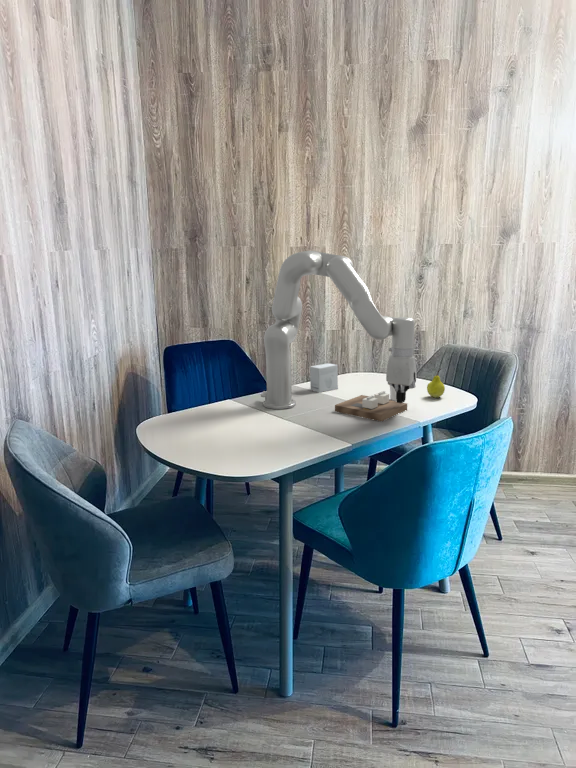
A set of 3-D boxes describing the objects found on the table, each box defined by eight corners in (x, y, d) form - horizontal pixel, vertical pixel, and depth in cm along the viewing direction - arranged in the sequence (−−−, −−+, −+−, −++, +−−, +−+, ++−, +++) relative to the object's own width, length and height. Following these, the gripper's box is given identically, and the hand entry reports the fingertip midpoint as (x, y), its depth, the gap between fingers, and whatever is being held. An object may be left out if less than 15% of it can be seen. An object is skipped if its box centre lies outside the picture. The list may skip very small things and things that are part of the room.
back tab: (374, 402, 211) (374, 392, 210) (379, 400, 214) (380, 390, 213) (383, 404, 208) (383, 394, 207) (389, 401, 211) (389, 391, 210)
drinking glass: (407, 402, 220) (408, 364, 217) (389, 402, 221) (390, 364, 217) (404, 397, 227) (405, 360, 223) (387, 397, 227) (388, 361, 224)
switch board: (334, 411, 209) (334, 404, 209) (361, 401, 223) (361, 394, 222) (381, 421, 197) (381, 414, 196) (407, 410, 210) (407, 403, 210)
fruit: (423, 397, 227) (424, 368, 224) (432, 394, 232) (434, 365, 229) (437, 400, 222) (439, 370, 219) (447, 397, 227) (449, 368, 224)
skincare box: (328, 386, 247) (328, 362, 245) (338, 389, 242) (338, 365, 240) (309, 389, 241) (309, 365, 239) (319, 392, 236) (319, 368, 234)
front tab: (362, 407, 205) (362, 396, 204) (368, 404, 208) (368, 394, 207) (371, 409, 202) (372, 398, 201) (377, 406, 205) (378, 396, 204)
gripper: (378, 351, 203) (377, 401, 207) (416, 356, 194) (414, 408, 198) (389, 348, 209) (388, 396, 213) (426, 353, 199) (424, 403, 203)
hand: (400, 402), depth 205 cm, fingers closed
